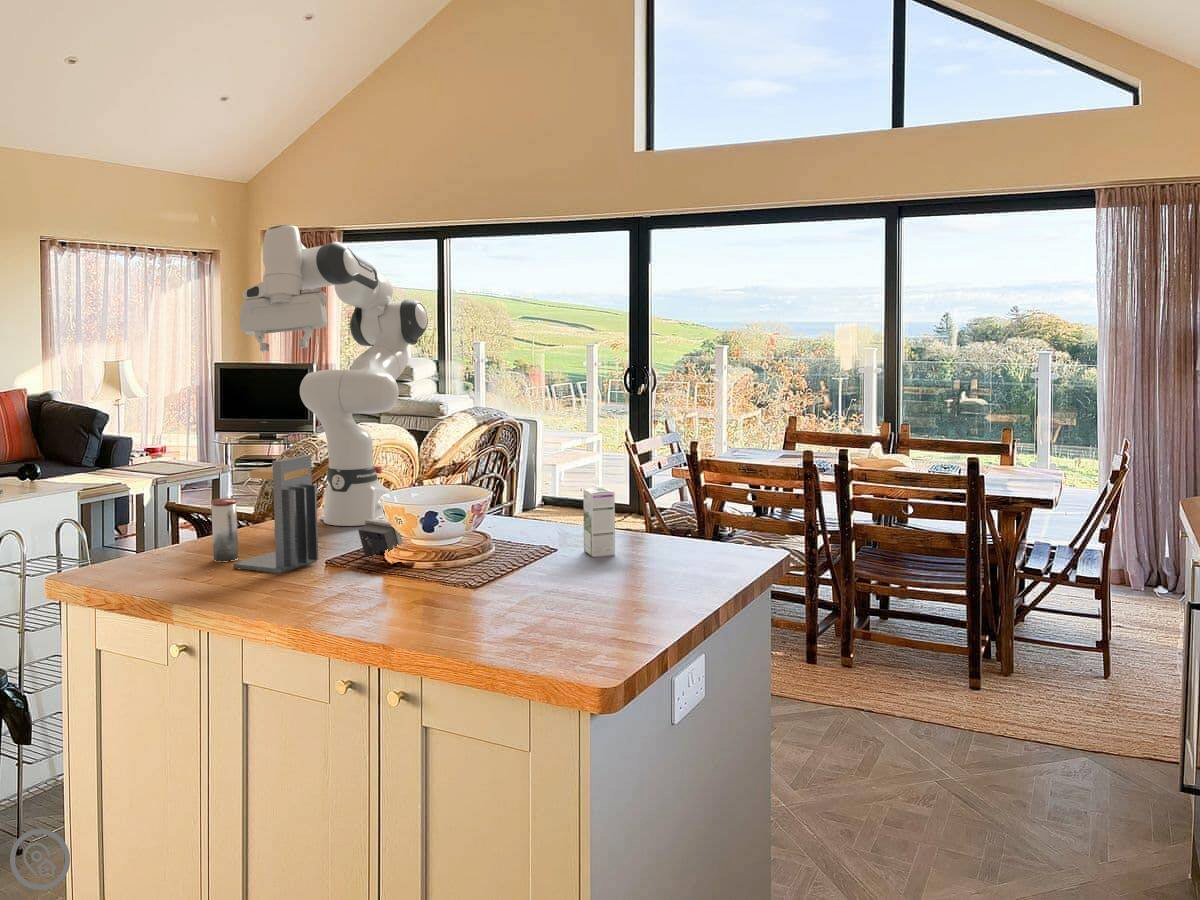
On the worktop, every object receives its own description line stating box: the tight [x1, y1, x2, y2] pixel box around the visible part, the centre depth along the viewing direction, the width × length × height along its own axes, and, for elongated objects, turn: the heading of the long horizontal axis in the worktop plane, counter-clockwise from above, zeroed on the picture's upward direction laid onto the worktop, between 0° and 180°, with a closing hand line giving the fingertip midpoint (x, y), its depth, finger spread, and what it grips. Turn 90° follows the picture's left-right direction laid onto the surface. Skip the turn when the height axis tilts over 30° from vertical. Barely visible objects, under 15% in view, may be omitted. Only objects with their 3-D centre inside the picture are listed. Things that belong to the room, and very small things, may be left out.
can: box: [210, 497, 239, 561], centre depth 218 cm, size 5×5×13 cm
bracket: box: [233, 454, 319, 575], centre depth 212 cm, size 12×14×23 cm
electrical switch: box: [358, 519, 403, 558], centre depth 216 cm, size 9×5×9 cm, turn 57°
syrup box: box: [583, 487, 616, 558], centre depth 225 cm, size 6×6×14 cm
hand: (283, 349), depth 234 cm, fingers open, 8 cm apart
